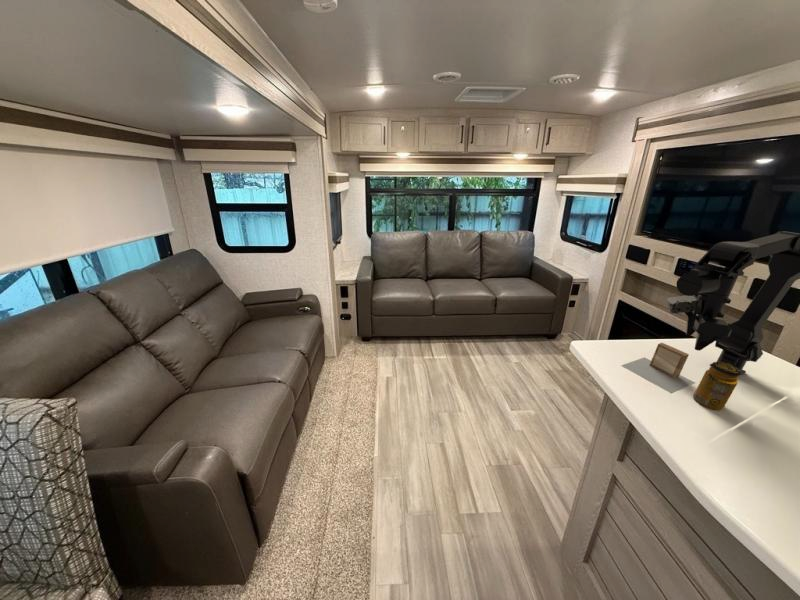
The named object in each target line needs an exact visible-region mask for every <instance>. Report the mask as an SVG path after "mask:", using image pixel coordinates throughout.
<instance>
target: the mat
mask: <svg viewBox="0 0 800 600" xmlns="http://www.w3.org/2000/svg"><path fill="white" fill-rule="evenodd" d="M651 360H652V359H649V358H646V357H641V358H638V359H635V360H633V361H629V362H628V363H624V364H622V365H620V366H621V367H623V368H624V369H626V370H628V371H629V372H632V373H633V374H636V375H637V376H639V377H641V378H643V379H644V380H646V381H648V382H649V383H652V384H654V385H656V386H657V387H659V388H661V389H662V390H664V391H667V392H668V393H670V394H674V393H675V392H678V391H680V390H682V389H685V388H686V387H687V388H688V386H692V385H694V384H695V383H696V382H695V381H693V380H691V379H690V378H687V377H685V376H683V375H681V374H680V375H679V377H677V378H673V377H671V376H669V375H667V374H665V373H663V372H661V371H659V370H657V369H655V368H653V367H651V366H649V365H650V363H651Z"/></svg>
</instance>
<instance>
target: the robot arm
mask: <svg viewBox="0 0 800 600" xmlns="http://www.w3.org/2000/svg"><path fill="white" fill-rule="evenodd" d="M768 256H769V257H770V259H769V261H768V262H767V267H768V272H769V275H768V277H767V278H766V280H765V281H764V283H763V284H762V286H761V287H760V289H759V290H758V291H757V293H756V294H755V295H754V297H753V299H752V300H751V301H750V303H749V305H748V306H747V307H746V308H745V310H744V312H743V313H742V314H741V316H740V318H739V319H738V320H735V321H734V322H732V323H729V322H728V323H727V321H726V320H725V319H723V318H724V316H725V314H724V312H723V310H724V308H725V306H726V304H731V302H732V299H731V298H730V296H731V293H732V291H733V288H734V287H735V284H736V282H737V279H738V278H739V277H740V276H744V275H745V272H744V270H745V269H747V268H748V267H751V266H753V265H754V263H755V260H758V259H760V258H761V259H762V258H764V257H768ZM798 280H800V233H799V232H793V231H792V232H791V231H783V230H782V231H776V232H775V233H774V234H770V235H766V236H763V237H759V238H755V239H751V240H747V241H721V242H717V243H716V244H714V245H712V247H710V248H709V249H708V250H707V252H706V253H704V255H703V256H702V257H701V258H700V259H699V260H698V261H697V262H696V263H695V264H694V268H691V269H690V271H689V273H685V274H682V275H681V276H680V277H679V278H678V279H677V281H676V288H677V290H678V292H679V293H680V294H682V295H680V296H679V295H677V296H670V297H666V302H667V308H668V310H669V313H671V314H674V315H675V314H681V313H683V314H685V315H686V331H685V335H687V336H692V335H694V333H697V335H696V338H695V344H694V350H695V351H702V350H703V349H704V348H707V347H708V346H710V345H712V344H713V343H714V342H715V343H714V347H715V348H718V349H721V350H722V351H721V352H720V354H719V356H718V358H717V360H716V362H723V363H727V364H730V365H732V366H734V367H736V368H738V369H739V370H740V372H741V373H740V375H739V376H742V375H744V374H746V373H747V371H746V370H745V369H744V367H745V365H746V364H747V362H753V363H756V362H758V360H759V359H760V358H762V356H763V355H764V351H763V349H762V347H761V343H762V341H763V340H764V335H763V329H762V328H763V326H764V324H765V323H767V321H768V319H769V318H770V317H771V315H772V314H773V312H774V311H775V309H776V308H777V307H778V305H779V304H780V302H781V301H782V299H784V297H785V296H786V294H787V293H788V291H789V290H791V289H790V288H791V287H792V286H793V285H794V283H795V282H796V281H798ZM711 364H712V363H710V364H709V367H711Z"/></svg>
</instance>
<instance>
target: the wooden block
mask: <svg viewBox="0 0 800 600" xmlns="http://www.w3.org/2000/svg"><path fill="white" fill-rule="evenodd" d="M688 358H689V353H687V352H685V351H683V350H680V349H677V348H676V347H674V346H671V345H668V344H666V343H664V342H660V343H657V346H656V349H655V351H654V353H653V355H652V358H651V359H650V360H651V363H650V365H649V366H651V367H653V368H655V369H657V370H659V371H661V372H663V373H665V374H667V375H669V376H671V377H673V378H677V377H679V375H681V373H682V371H683V369H684V367H685V364H686V362H687V360H688Z"/></svg>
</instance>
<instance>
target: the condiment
mask: <svg viewBox="0 0 800 600" xmlns="http://www.w3.org/2000/svg"><path fill="white" fill-rule="evenodd" d="M710 364H711V366H709V369H706V371H705V372H704V374H703V376H702V378H701V380H700V382H699V384H698V385H697V387H696V390H695V392H694V393H693V397H692V399H693V400H694V402H696V403H697V404H699V405H700V406H702V407H703V408H706V409H709V410H713V411H721V410H723V408H724V409H725V406H726V404H727V403H728V401H729V399H730V398H731V395H732V394H733V392H734V390H736V389H735V388H736V387H737V385H738V383H739V381H738V380H739V377H740V376H741V375H740V373H741V372H740V370H739V369H738V368H736V367H734V366H732V365H730V364H727V363H723V362H717V361H714V362H712V363H710Z"/></svg>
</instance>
